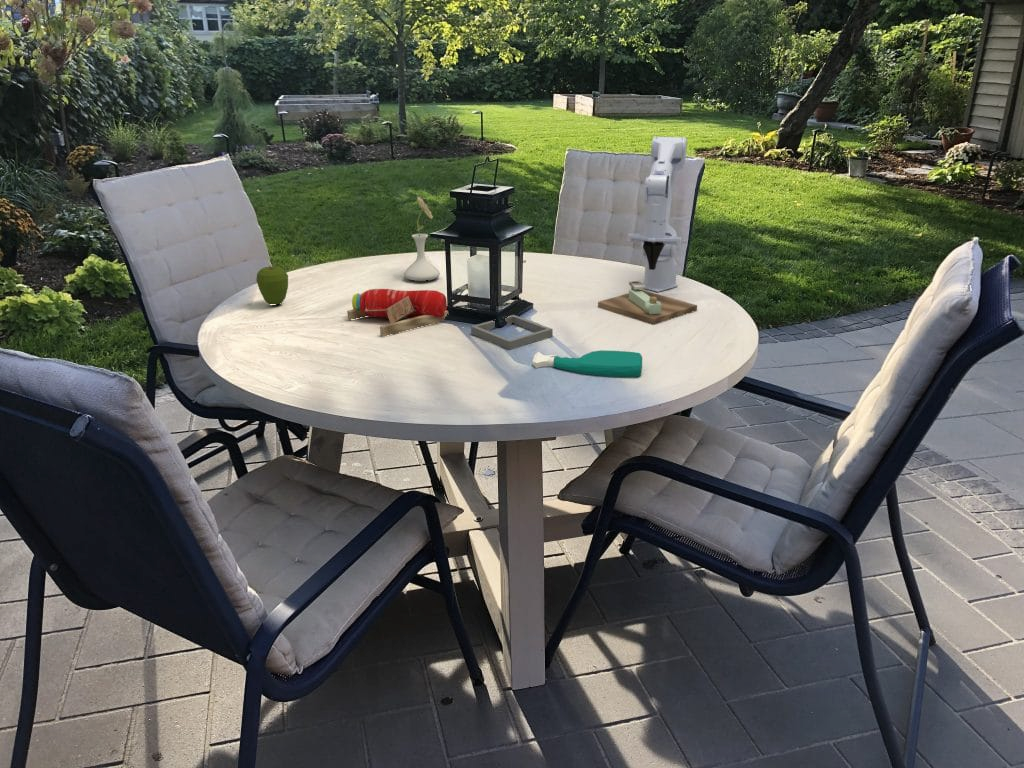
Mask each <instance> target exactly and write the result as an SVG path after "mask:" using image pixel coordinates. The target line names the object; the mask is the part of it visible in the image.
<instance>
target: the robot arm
mask: <svg viewBox="0 0 1024 768" xmlns="http://www.w3.org/2000/svg"><path fill="white" fill-rule="evenodd" d="M650 146H651V147H650V156H651V164H652V166H651V169H650V173H649V176H646V178H645V182H644V196H645V199H644V203H645V215H644V228H643V229H644V231H643V233H629V234H628V235H627V242H629V243H632V242H635V243H641V244H640V245H641V246H640V254H641V255H642V257H644V260H645V263H644V264H645V266H644V282H643V283H642V284H643V285H645V289H644V290H647V291H651V292H656V293H660V292H664V291H666V290H671V289H673V288H676V287H679V286H678V284H677V282H676V281H677V273H678V271H677V270H678V269H677V268H678V263H677V261H676V259H675V256H676V251H677V247H679V246H681V245H682V237H681V236H678V233H677V231H676V230H675V229H674V228H673V227H672V226H671V225H670V218H671V210H672V202H673V201H672V200H673V195H674V194H673V193H674V183H675V179H676V176H677V173H678V172H679V171H681V170H683V169H684V165H685V162H686V155H687V147H688V139H687V138H686V136H683V137H681V136H657V135H655V136H654V137H652V139H651V145H650Z"/></svg>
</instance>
